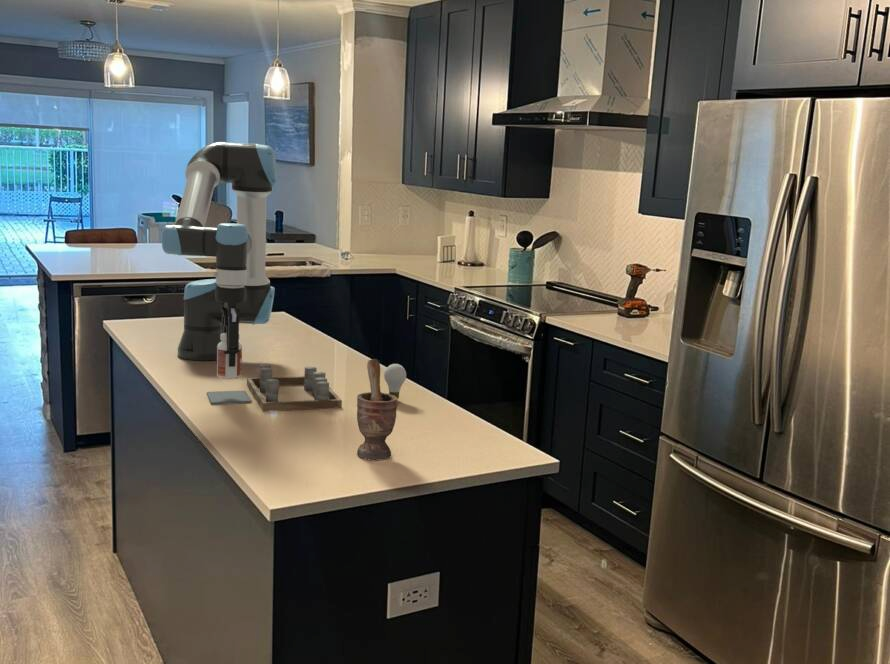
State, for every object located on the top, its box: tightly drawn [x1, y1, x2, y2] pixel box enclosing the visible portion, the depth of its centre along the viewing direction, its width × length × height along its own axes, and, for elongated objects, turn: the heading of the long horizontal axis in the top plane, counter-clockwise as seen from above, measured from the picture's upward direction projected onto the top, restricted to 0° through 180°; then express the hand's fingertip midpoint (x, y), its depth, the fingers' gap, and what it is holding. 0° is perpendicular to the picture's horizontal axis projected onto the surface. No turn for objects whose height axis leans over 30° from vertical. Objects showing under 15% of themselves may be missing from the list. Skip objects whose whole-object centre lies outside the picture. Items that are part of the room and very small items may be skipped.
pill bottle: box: [216, 333, 243, 380], centre depth 222 cm, size 6×6×11 cm
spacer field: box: [246, 363, 343, 412], centre depth 230 cm, size 25×20×6 cm
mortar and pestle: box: [356, 358, 398, 461], centre depth 189 cm, size 12×9×20 cm
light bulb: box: [383, 363, 407, 400], centre depth 232 cm, size 6×6×10 cm
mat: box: [206, 390, 253, 406], centre depth 225 cm, size 10×10×1 cm
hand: (229, 375), depth 223 cm, fingers closed on pill bottle, 6 cm apart
